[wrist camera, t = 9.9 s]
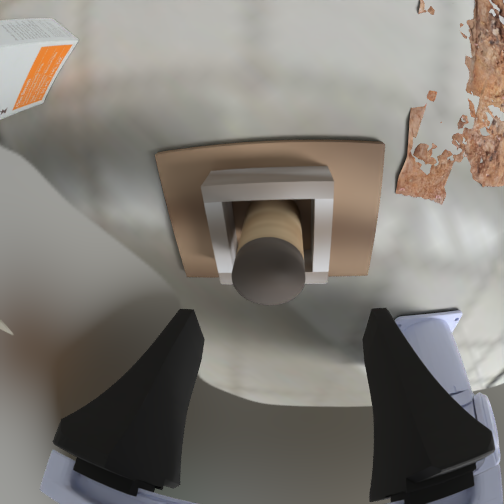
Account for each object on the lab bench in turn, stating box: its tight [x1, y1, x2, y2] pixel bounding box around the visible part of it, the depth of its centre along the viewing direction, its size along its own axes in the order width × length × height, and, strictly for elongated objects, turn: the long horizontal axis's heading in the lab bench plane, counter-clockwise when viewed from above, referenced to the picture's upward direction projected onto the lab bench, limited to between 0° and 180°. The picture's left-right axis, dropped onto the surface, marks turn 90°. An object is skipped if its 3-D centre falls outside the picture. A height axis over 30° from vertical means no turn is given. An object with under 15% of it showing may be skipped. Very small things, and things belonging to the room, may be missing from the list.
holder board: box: [155, 140, 385, 284], centre depth 18 cm, size 10×14×3 cm
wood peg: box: [231, 199, 305, 305], centre depth 16 cm, size 4×4×6 cm
